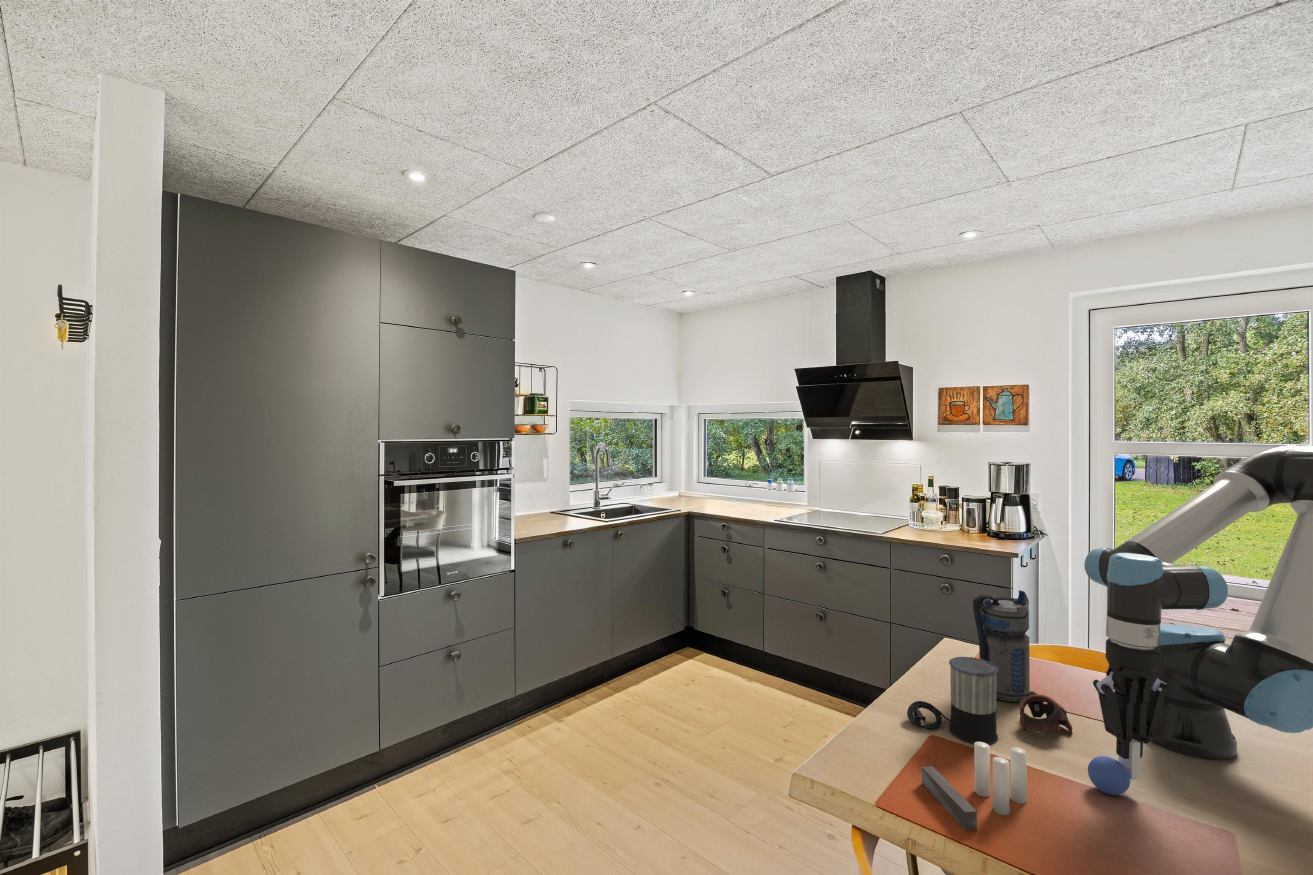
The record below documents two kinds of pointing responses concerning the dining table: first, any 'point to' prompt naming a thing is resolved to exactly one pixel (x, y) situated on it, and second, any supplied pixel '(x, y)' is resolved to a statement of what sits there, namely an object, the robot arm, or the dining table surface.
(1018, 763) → the front pin
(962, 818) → the back wall
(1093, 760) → the ball
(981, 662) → the milk frother
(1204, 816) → the dining table surface
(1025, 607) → the beverage bottle
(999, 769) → the pin
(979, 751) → the pin
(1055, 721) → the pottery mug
